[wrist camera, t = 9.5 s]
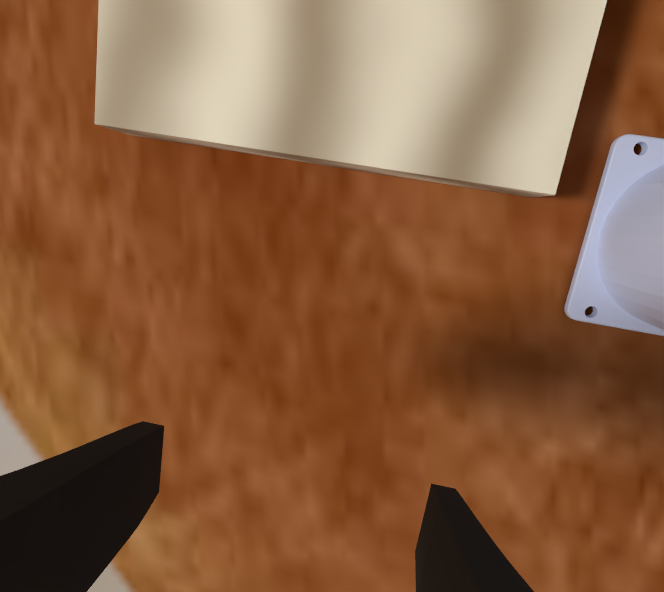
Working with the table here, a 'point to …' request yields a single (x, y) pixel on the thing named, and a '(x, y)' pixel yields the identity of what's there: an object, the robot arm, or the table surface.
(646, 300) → the robot arm
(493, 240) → the table surface
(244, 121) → the board
